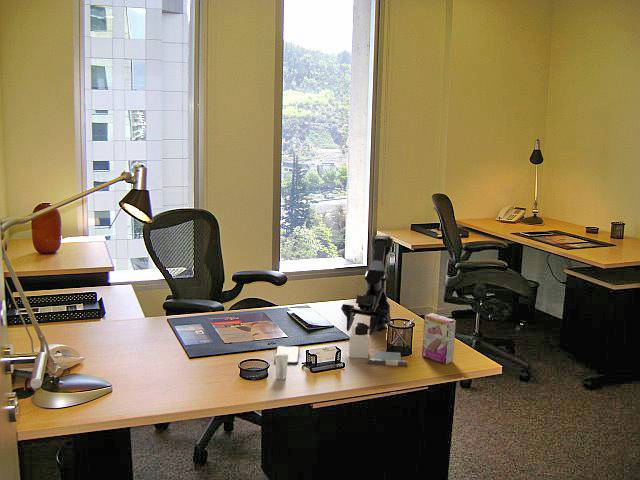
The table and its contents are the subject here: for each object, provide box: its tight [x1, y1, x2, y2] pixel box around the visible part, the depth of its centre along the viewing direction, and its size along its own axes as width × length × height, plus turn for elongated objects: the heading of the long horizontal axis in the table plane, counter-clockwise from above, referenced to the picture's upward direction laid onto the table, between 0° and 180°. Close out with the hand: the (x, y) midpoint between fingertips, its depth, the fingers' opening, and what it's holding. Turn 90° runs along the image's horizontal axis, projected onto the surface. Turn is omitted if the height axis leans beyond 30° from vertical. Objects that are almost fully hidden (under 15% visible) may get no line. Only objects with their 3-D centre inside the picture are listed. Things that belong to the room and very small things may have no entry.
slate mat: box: [374, 350, 402, 360], centre depth 263 cm, size 10×10×1 cm
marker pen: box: [367, 357, 408, 367], centre depth 256 cm, size 2×14×2 cm, turn 84°
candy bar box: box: [421, 312, 457, 365], centre depth 261 cm, size 11×5×16 cm, turn 44°
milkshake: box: [272, 351, 288, 381], centre depth 240 cm, size 4×5×10 cm
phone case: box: [273, 345, 301, 366], centre depth 261 cm, size 9×2×16 cm
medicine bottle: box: [348, 322, 370, 359], centre depth 264 cm, size 7×7×12 cm
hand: (358, 332), depth 262 cm, fingers open, 9 cm apart
